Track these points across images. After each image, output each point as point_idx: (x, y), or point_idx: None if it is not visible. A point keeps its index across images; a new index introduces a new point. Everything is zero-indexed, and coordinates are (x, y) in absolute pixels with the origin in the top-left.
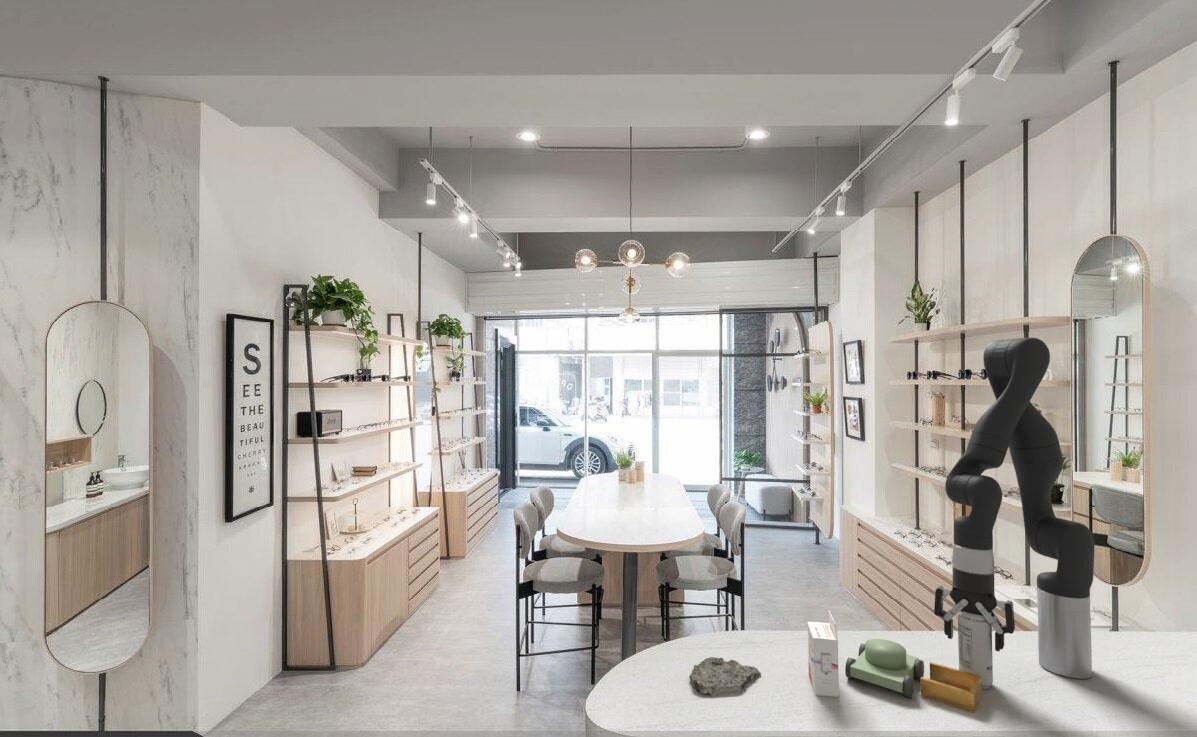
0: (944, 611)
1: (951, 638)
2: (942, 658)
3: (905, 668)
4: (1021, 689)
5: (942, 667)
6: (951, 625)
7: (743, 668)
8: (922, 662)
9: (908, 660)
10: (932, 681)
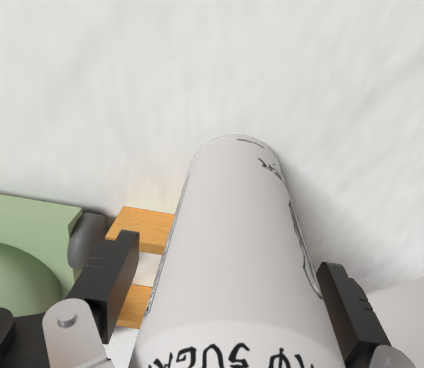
0: (30, 365)
1: (137, 263)
2: (125, 24)
3: (64, 297)
4: (361, 149)
5: (142, 251)
6: (115, 316)
7: None
8: (87, 253)
9: (52, 254)
10: (134, 326)
